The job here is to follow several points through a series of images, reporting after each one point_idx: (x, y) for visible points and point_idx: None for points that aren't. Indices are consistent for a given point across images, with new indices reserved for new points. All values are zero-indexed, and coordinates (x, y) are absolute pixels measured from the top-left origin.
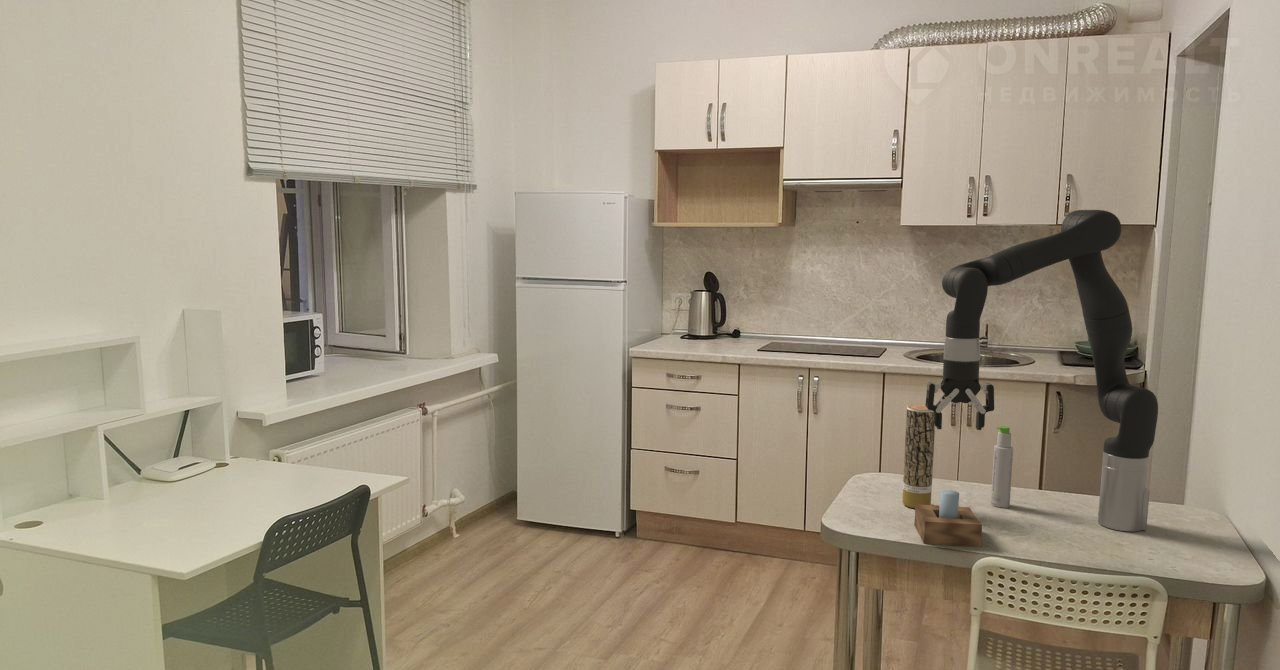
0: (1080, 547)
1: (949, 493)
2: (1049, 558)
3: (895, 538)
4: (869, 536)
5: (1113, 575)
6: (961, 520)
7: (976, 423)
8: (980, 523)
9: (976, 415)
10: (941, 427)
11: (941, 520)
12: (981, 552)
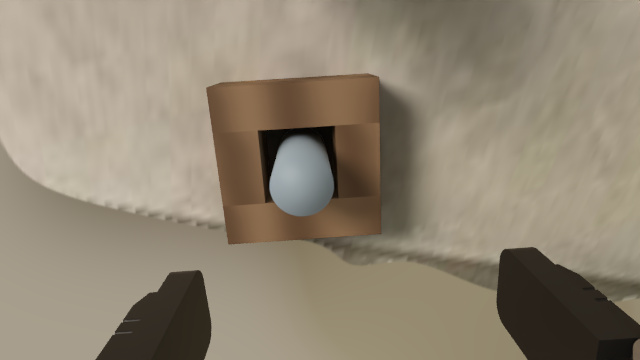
0: (610, 157)
1: (299, 195)
2: (505, 244)
3: (171, 199)
4: (106, 200)
5: None
6: (330, 213)
7: (523, 283)
8: (378, 225)
9: (571, 319)
10: (207, 347)
11: (274, 225)
12: (364, 243)
